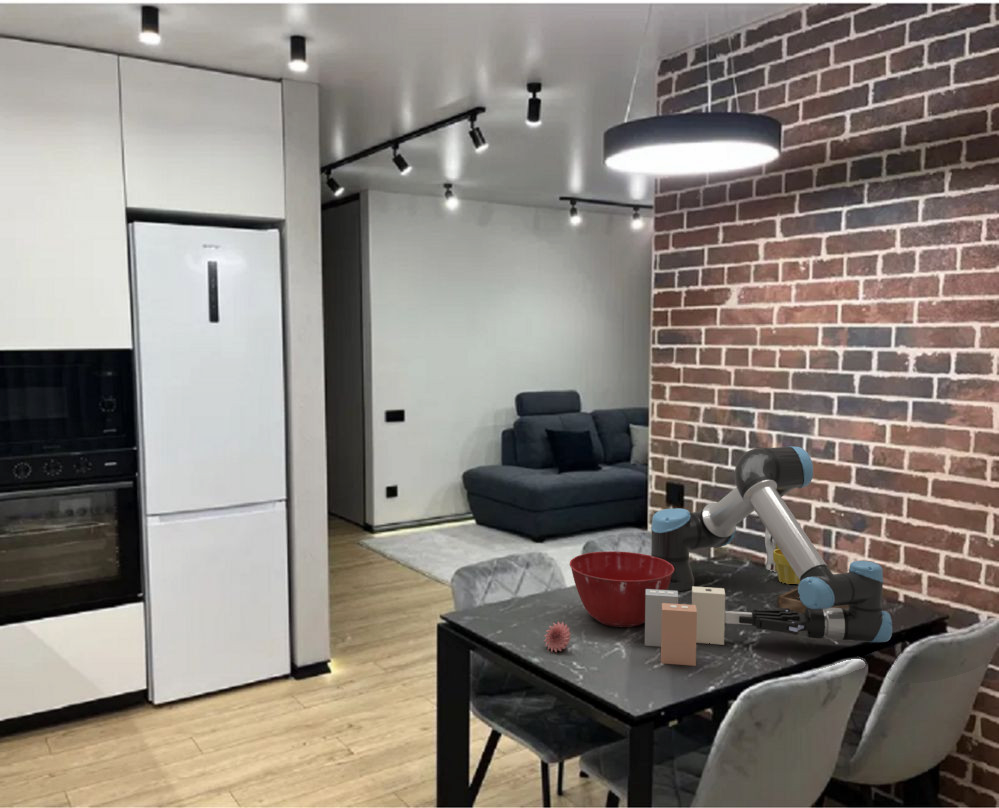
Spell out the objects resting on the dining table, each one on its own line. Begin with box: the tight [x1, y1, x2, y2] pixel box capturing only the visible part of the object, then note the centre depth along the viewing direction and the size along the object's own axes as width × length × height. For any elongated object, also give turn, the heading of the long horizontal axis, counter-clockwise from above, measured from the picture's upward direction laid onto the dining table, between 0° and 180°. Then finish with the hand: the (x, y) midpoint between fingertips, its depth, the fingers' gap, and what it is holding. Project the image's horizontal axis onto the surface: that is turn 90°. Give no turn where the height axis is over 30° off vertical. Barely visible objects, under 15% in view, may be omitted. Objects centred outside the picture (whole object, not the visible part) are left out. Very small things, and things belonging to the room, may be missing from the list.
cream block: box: [691, 585, 726, 646], centre depth 206 cm, size 8×5×13 cm, turn 78°
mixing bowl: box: [569, 550, 674, 628], centre depth 222 cm, size 28×28×15 cm
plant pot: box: [773, 549, 801, 585], centre depth 257 cm, size 10×10×10 cm
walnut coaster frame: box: [776, 587, 849, 614], centre depth 234 cm, size 16×18×3 cm
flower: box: [543, 621, 572, 653], centre depth 200 cm, size 8×8×6 cm
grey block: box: [644, 589, 679, 648], centre depth 204 cm, size 8×5×13 cm, turn 79°
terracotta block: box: [660, 603, 697, 667], centre depth 193 cm, size 8×5×13 cm, turn 79°
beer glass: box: [764, 527, 779, 573], centre depth 271 cm, size 7×7×15 cm
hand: (725, 617), depth 205 cm, fingers closed
